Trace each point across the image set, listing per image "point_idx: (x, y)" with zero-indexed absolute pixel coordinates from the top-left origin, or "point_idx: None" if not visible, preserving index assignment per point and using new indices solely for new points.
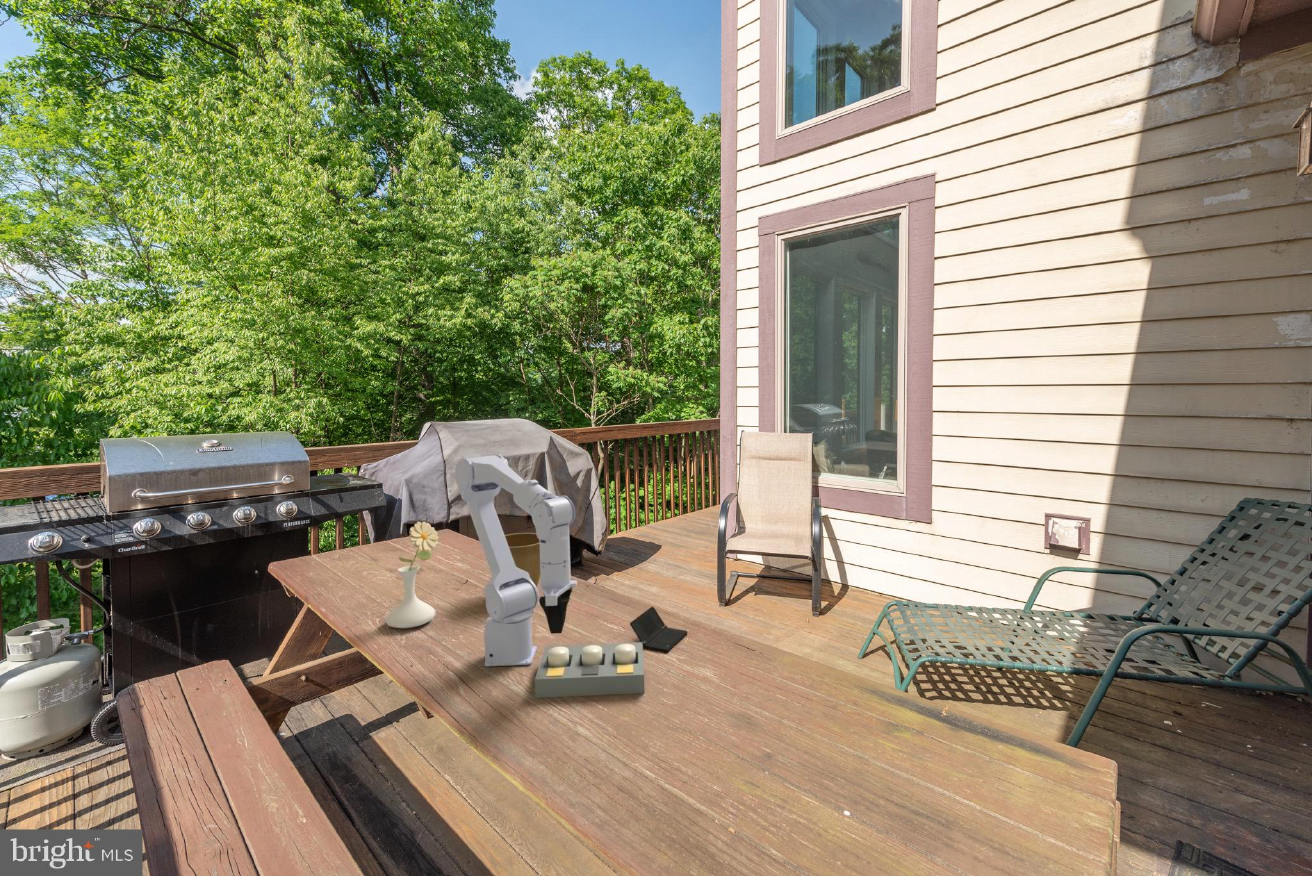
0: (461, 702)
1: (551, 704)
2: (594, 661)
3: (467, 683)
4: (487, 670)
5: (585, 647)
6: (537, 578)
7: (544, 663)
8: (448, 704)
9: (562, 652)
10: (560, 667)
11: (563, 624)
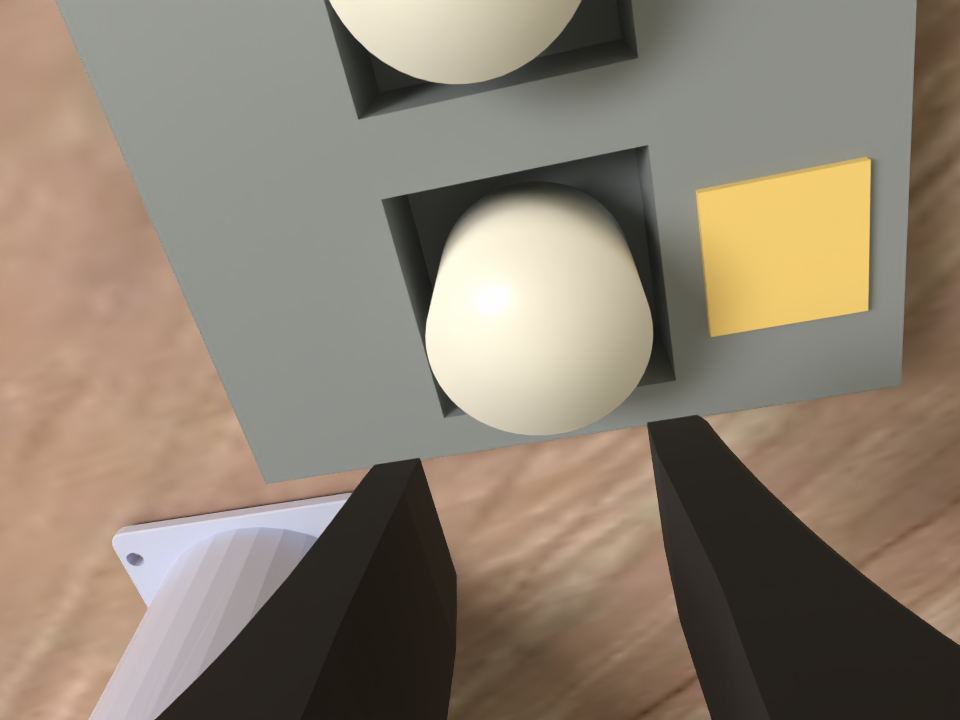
0: None
1: (952, 161)
2: None
3: (637, 711)
4: (476, 677)
5: (397, 50)
6: None
7: None
8: None
9: (572, 288)
10: (674, 235)
11: (419, 471)
